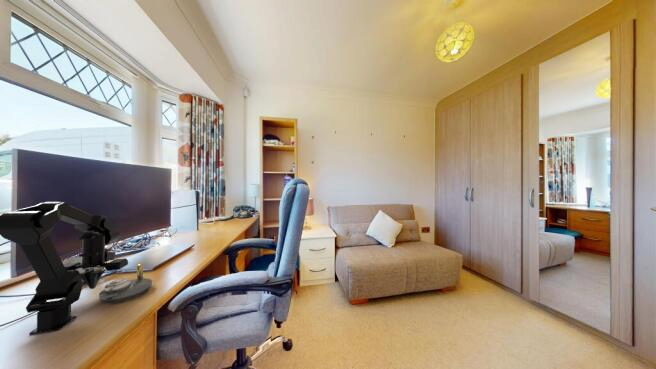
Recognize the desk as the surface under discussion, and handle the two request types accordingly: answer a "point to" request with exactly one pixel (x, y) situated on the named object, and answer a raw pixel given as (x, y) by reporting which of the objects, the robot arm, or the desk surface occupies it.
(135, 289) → the turntable
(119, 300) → the turntable base
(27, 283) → the desk surface
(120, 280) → the cover
